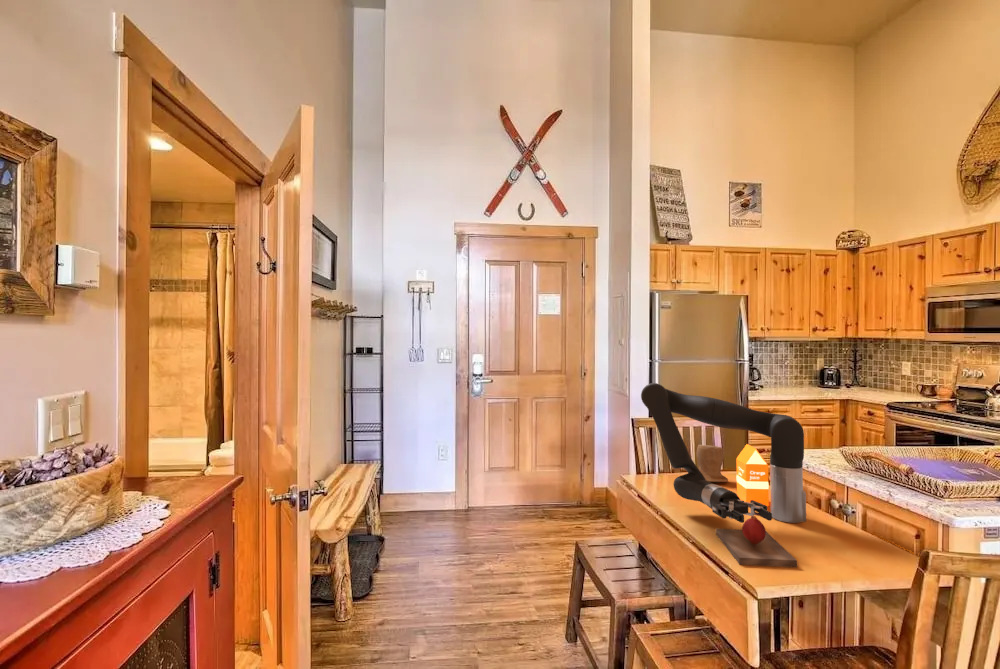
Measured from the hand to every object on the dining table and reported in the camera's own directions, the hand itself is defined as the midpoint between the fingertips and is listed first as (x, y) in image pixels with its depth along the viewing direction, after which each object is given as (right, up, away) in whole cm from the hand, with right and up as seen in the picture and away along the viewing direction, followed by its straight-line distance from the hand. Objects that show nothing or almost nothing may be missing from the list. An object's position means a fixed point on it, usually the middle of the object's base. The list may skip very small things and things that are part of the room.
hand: (757, 518), depth 134 cm
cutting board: (0, -10, +2) cm, 10 cm away
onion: (0, -8, +1) cm, 8 cm away
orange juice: (+21, -10, +42) cm, 48 cm away
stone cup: (+16, -11, +69) cm, 72 cm away
